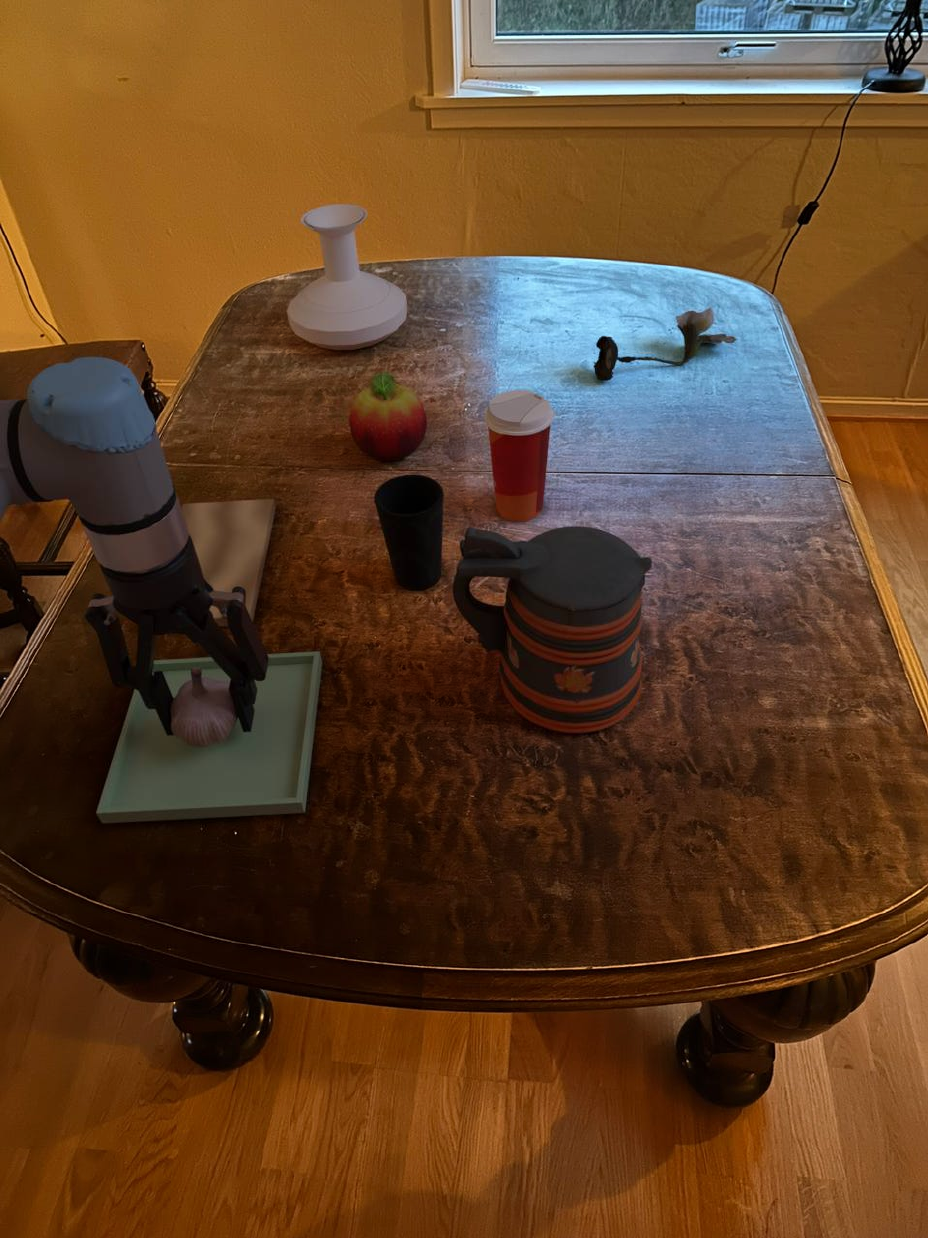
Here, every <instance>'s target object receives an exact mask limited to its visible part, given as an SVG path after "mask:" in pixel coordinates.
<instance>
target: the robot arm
mask: <svg viewBox="0 0 928 1238" xmlns="http://www.w3.org/2000/svg"><path fill="white" fill-rule="evenodd" d="M26 396H27V397H26V398H19V399H0V523H1V522H2V520H3V518H4V516H5V514H6V512H7V510H8V509H9V508H8V507H10V506H12V505H21V504H23V505H24V504H34V503H49V502H54V501H63V500H68V501H70V503H71V505H72V507H73V510H74V511H75V512H76V515H77V517H78V519H79V521H80V523H81V526H82V528H83V530H84V533H85V535H86V538H87V541H88V544H89V545H90V549H91V550H92V552H93V555H94V557H95V559H96V561H97V562H98V563H99V567H100V571H101V572H102V575H103V577H104V579H105V582H106V584H107V586H108V588H109V589H108V590H109V592H110V593H111V596H107V597H106V595H104V594H102V593H100V592H97V593H93V594H92V596H91V598H90V601H89V603H88V606H87V608H86V611H85V613H84V619H85V620H86V621H87V622H88V624H89V625H90V626H91V627H92V628H93V630H94V631H95V632H96V635H97V638H98V641H99V644H100V648H101V651H102V654H103V659H104V660H105V664H106V667H107V671H108V673H109V678H110V680H111V684H112V685H113V687H115V688H118V689H119V688H120V689H122V688H125V687H126V686H131V687H133V688H134V690H135V689H136V690H137V691H139V693H140V695H141V697H142V699H143V702H144V704H145V706H146V707H147V708H148V709H155V710H156V712H157V714H158V716H159V719H160V721H161V723H162V725H163V728H164V730H165V732H166V734H167V736H170V735H174V734H173V732H172V729H171V714H170V707H171V704H172V701H173V699H174V698H173V696H172V693H171V691H170V688H169V686H168V684H167V681H166V679H165V676H164V674H163V672H162V671H154V675H152V671H153V667H154V660H155V655H156V654H155V653H156V647H157V637H158V636H166V635H170V634H175V635H176V634H177V635H185V636H186V637H187V638H188V639H189V640H190V641H191V642H192V644H194V645H197V644H198V645H199V646H200V647H201V648H202V649H203V650H204V651H205V652H206V654H207V655H208V656H209V657H211V658H212V659H213V660H214V661H215V662H216V663H217V664H218V666H219V667H220V668H221V669H222V670H223V671H224V672H225V673H226V674H227V675H228V676H229V678H230V679H231V680H230V685H229V692H230V695H231V698H232V701H233V704H234V706H235V709H236V712H237V715H238V718H239V721H240V724H241V727H242V730H243V732H251V729H252V723H253V717H254V712H255V710H254V707H253V704H255V701H256V696H257V686H256V683H255V680H256V681H263V680H265V678H266V672H267V666H268V661H269V657H268V655H267V654H268V653H267V650H266V648H265V646H264V644H263V641H262V639H261V637H260V635H259V633H258V631H257V628H256V626H255V624H254V621H253V622H252V619H251V617H250V615H249V613H248V610H247V608H246V606H245V603H246V590H245V589H244V588H242V587H240V586H236V587H234V588H233V589H232V593H230V592H222V591H214V589H213V588H212V586H211V585H210V584H209V583H207V582H206V580H205V579H204V577H203V573H202V569H201V565H200V562H199V559H198V556H197V553H196V550H195V547H194V544H193V541H192V538H191V536H190V535H189V531H188V526H187V523H186V520H185V517H184V514H183V511H182V506H181V502H180V498H179V496H178V493H177V491H176V487H175V485H174V484H175V483H174V481H173V480H172V476H171V473H170V470H169V469H170V468H169V466H168V463H167V460H166V456H165V453H164V450H163V446H162V443H161V440H160V438H159V437H160V436H159V434H158V430H157V423H156V420H155V417H154V414H153V413H152V411H151V410H150V408H149V405H148V404H147V400H146V398H145V395H144V393H143V391H142V388H141V386H140V383H139V381H138V379H137V377H136V375H135V374H134V373H133V371H132V370H131V369H130V368H129V367H128V366H126V365H125V364H123V363H122V362H120V361H117V360H115V359H112V358H108V357H100V356H85V357H84V356H83V357H76V358H74V359H73V360H72V361H69V362H58V363H55V364H53V365H50V366H49V367H47V368H45V369H43V370H41V371H40V372H39V373H38V374H37V375H36V376H35V377H34V378H33V379H32V380H31V381H30V383H29V385H28V388H27V392H26ZM211 606H215V607H217V608H218V609H219V611H220V613H221V614H222V618H223V619H227V621H228V626H227V627H228V629H229V632H230V633H231V636H232V638H233V640H234V641H233V640H232V638H230V636H229V635H228V634H227V633H226V632H225V631H224V629H223V628H222V627H220V626H219V625H218V624H217V623H216V622H215V620H214V617H213V614H212V612H211V611H210V610H209V609H210V607H211ZM119 614H121V615H122V616H123V617H125V618H126V619H127V620H130V621H131V622H132V623H134V624H136V625H137V626H138V629H137V640H136V644H137V650H136V660H135V665H133V663H132V660H131V657H130V653H129V650H128V646H127V642H126V639H125V635H124V632H123V628H122V625H121V621H120V617H119Z"/></svg>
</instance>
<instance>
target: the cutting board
mask: <svg viewBox="0 0 928 1238" xmlns="http://www.w3.org/2000/svg"><path fill="white" fill-rule="evenodd" d="M181 508H182V511H183V514H184V517H185V520H186V523H187V526H188V531H189V535H190V536H191V538H192V541H193V544H194V547H195V550H196V553H197V556H198V559H199V562H200V565H201V569H202V573H203V577H204V579H205V580H206V582H207V583H209V584H210V585H211V586H212V588H213V589H214V591H222V592H230V593H232V589H233V588H234V587H236V586H240V587H242V588H244V589H245V590H246V603H245V606H246V608H247V610H248V613H249V615H250V617H251V619H252V622H253V623H254V619H255V614H256V609H257V603H258V599H259V594H260V589H261V583H262V579H263V578H262V577H263V573H264V569H265V564H266V558H267V554H268V548H269V543H270V538H271V533H272V529H273V523H274V518H275V514H276V510H277V509H276V508H277V506H276V502H275V499H274V498H263V499H262V498H260V499H244V500H226V501H211V502H209V501H208V502H192V503H183V504H182V506H181ZM209 610H210V611H211V612H212V614H213V617H214V620H215V622H216V623H217V624H218V625H219V626H220V627H221V628H222V627H228V621H227V619H223V618H222V614H221V613H220V611H219V609H218V608H217V607H215V606H211V607H210V609H209Z"/></svg>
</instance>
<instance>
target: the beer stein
mask: <svg viewBox="0 0 928 1238" xmlns="http://www.w3.org/2000/svg"><path fill="white" fill-rule="evenodd" d="M459 551H460V554H461V557H462V559H460V560H459V561H458V564H457V565H456V569H455V571H456V573H455V575H454V579H453V581H452V596H453V600H454V603H455V606H456V607H457V610H458V611H459V613H460V614H461V615H462V617H463V618H464V620H465V621H466V622H467V623H468V625H469V626H470V627H471V628H472V629H473V630H474V631H475V632H476V633H477V634H478V636H477V644H478V645H479V647H481V648H483V649H485V651H486V652H487V653H490V652H491V651H498V653H499V661H498V662H499V663H498V665H499V668H498V672H499V675H500V683H501V687H502V690H503V694H504V696H505V697H506V699H507V701H508V702H509V703H510V705H511V707H513V708H514V710H516V711H517V713H518V714H520V716H522V717H523V718H524V719H525V720H526V721H528V722H531V723H533V724H535V725H537V726H539V727H541V728H544V729H547V730H551V731H553V732H554V731H555V732H559V733H564V734H565V733H566V734H589V733H595V732H599V731H603V730H605V729H608V728H610V727H612V726H615V725H616V724H618V723H619V722H620V721H622V720H623V719H625V718H626V716H627V715H629V714H630V712H631V711H632V710H633V708H635V706H636V704H637V703H638V701H639V698H640V696H641V692H642V689H643V679H642V671H643V670H642V668H643V655H642V648H641V643H640V641H639V640H640V639H639V638H640V637H639V634H640V632H641V629H642V621H643V620H642V619H643V618H642V617H643V612H642V611H643V609H642V608H643V607H642V605H643V603H642V597H643V587H644V586H645V583H646V574H647V573H648V572H649V571H650V570H651V569H652V563H653V559H652V558H651V557H648V556H647V557H646V556H645V557H641V555H639V553H638V552H637V551H636V550H635V549H634V548H633V547H632V546H631V545H630V544H629V543H627V542H626V541H624V540H623V539H622V538H620V537H619V536H617V535H615V534H613V533H611V532H609V531H606V530H603V529H600V528H596V527H591V526H584V525H583V526H582V525H573V526H572V525H571V526H561V527H558V528H557V527H556V528H552V529H550V530H546V531H543V532H542V533H540V534H537V535H536V536H534V537H532V538H530V539H529V540H527V541H526V540H518V541H512V540H510V539H509V538H508V537H506V536H504V535H503V534H500V533H497V532H495V531H493V530H488V529H487V530H486V529H476V528H474V527H472V526H470V527H467V528H466V529H465V533H464V539H461V540H460V541H459ZM476 577H477V578H501V579H502V578H503V579H504V578H505V579H508V581H507V584H506V585H507V587H506V591H505V597H504V598H505V601H504V604H503V605H497V604H496V605H495V604H490V603H487V602H483V601H482V600H479V599H478V598H476V596H474V595H473V594H472V592H471V590H470V586H471V582H472V580H473V579H474V578H476Z"/></svg>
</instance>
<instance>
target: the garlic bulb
mask: <svg viewBox="0 0 928 1238" xmlns="http://www.w3.org/2000/svg"><path fill="white" fill-rule="evenodd" d="M201 676H202V670H201V669H200V668H198V667H194V668H193V667H192V669H191V677H192V680H190V681H187V682H185V683H184V684H183V685H182V686H181V687H180V689H179V691H178V694H177V695H176V697H175V698H174V699H173V701H172V704H171V707H170V714H171V729H172V732H173V734H174V735H175V736H176V737H177V738H178V739H180V740H182V741H183V742H184V743H185V744H186V745H188V746H191V747H196V748H204V747H207V746H209V745H211V744H218V743H221V742H223V741H225V740H226V739H227V738H228V736H229V734H230V731H231V729H232V728H233V727H234V726H235V724H236V722H237V720H238V715H237V712H236V709H235V706H234V704H233V701H232V698H231V695H230V692H229V685H230V682H229V681H219V680H214V679H211V678H207V677H202V678H201Z"/></svg>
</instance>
